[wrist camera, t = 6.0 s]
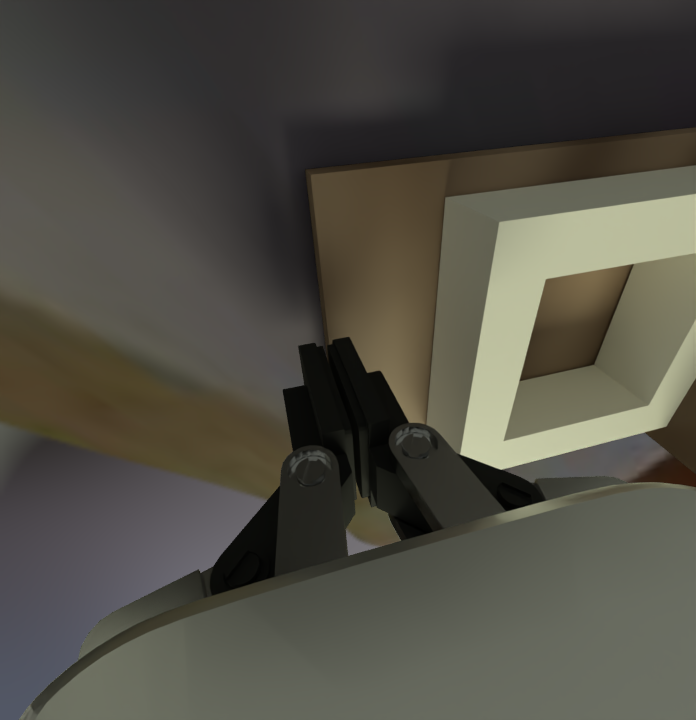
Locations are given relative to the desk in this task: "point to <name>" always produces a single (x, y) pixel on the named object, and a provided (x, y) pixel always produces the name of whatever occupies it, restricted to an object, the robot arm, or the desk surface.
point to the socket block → (521, 301)
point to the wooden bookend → (423, 250)
